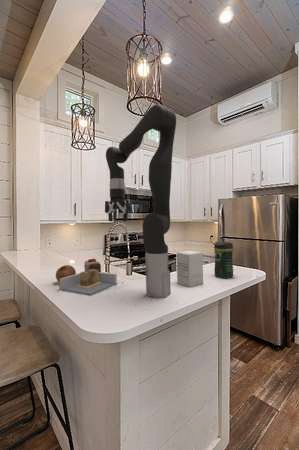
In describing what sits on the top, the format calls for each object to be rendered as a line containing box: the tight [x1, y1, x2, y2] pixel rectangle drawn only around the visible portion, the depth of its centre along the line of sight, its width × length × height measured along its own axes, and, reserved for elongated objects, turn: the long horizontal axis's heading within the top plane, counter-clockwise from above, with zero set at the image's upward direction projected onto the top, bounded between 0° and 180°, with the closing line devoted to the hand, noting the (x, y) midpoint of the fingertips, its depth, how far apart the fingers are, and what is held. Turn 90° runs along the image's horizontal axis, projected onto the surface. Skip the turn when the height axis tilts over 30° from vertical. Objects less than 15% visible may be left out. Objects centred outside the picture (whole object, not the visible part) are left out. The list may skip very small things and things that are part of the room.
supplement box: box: [176, 250, 204, 288], centre depth 111 cm, size 9×9×15 cm
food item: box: [84, 257, 102, 272], centre depth 129 cm, size 14×8×10 cm, turn 28°
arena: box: [59, 271, 118, 296], centre depth 107 cm, size 18×18×5 cm
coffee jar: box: [213, 240, 234, 279], centre depth 123 cm, size 10×8×19 cm
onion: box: [55, 264, 77, 283], centre depth 116 cm, size 10×9×10 cm
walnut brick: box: [79, 269, 99, 287], centre depth 109 cm, size 8×4×6 cm, turn 153°
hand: (118, 221), depth 116 cm, fingers open, 8 cm apart
